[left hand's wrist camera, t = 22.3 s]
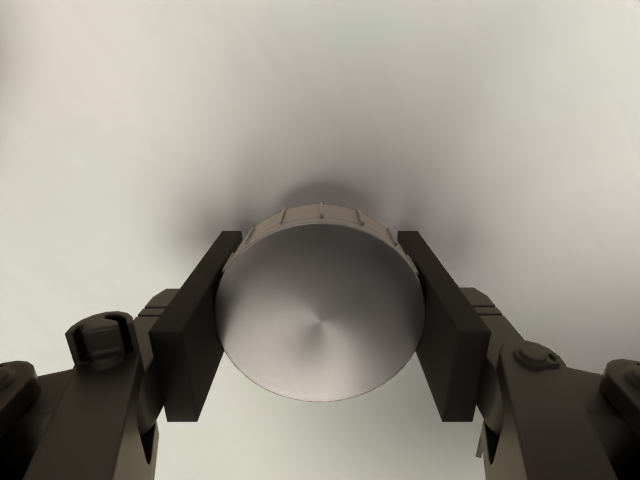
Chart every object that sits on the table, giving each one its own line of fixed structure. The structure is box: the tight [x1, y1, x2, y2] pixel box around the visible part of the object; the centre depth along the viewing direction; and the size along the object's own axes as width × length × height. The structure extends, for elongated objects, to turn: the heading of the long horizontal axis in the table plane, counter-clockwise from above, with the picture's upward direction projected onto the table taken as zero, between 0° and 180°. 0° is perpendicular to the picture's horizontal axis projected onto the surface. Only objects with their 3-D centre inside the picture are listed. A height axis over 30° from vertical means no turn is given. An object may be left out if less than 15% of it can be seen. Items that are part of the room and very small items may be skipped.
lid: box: [214, 202, 426, 402], centre depth 11 cm, size 6×6×2 cm
